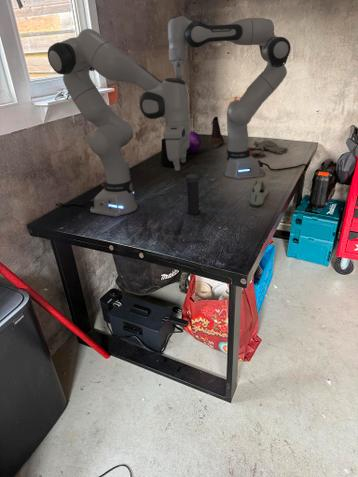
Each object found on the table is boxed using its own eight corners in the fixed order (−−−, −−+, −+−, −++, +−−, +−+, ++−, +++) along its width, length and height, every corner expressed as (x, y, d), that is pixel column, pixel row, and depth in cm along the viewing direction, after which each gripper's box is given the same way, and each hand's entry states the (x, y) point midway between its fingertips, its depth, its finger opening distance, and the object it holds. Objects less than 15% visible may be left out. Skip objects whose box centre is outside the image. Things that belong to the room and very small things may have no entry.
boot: (224, 140, 260) (225, 113, 250) (221, 148, 240) (222, 119, 230) (213, 140, 262) (213, 113, 252) (210, 148, 242) (209, 119, 232)
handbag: (171, 168, 206) (169, 126, 194) (160, 166, 211) (156, 125, 198) (188, 159, 221) (187, 120, 209) (177, 157, 226) (175, 119, 213)
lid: (197, 177, 145) (197, 173, 144) (200, 181, 140) (200, 177, 139) (185, 179, 144) (184, 174, 143) (187, 183, 139) (187, 178, 138)
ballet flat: (269, 188, 169) (270, 173, 165) (265, 208, 149) (266, 191, 145) (252, 187, 171) (253, 172, 167) (246, 206, 151) (247, 190, 147)
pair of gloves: (252, 159, 212) (252, 151, 209) (231, 150, 233) (231, 143, 230) (289, 152, 222) (290, 144, 219) (266, 144, 242) (267, 137, 240)
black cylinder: (197, 209, 152) (196, 174, 143) (200, 214, 148) (199, 178, 139) (187, 210, 151) (185, 175, 143) (189, 215, 147) (188, 179, 139)
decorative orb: (204, 151, 235) (204, 129, 228) (194, 156, 225) (193, 134, 217) (186, 149, 243) (186, 128, 235) (175, 154, 232) (174, 132, 224)
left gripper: (176, 122, 127) (179, 157, 134) (161, 134, 110) (165, 174, 117) (192, 122, 126) (194, 157, 133) (180, 134, 109) (182, 174, 115)
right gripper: (185, 55, 152) (186, 88, 159) (184, 55, 169) (185, 84, 176) (171, 56, 152) (173, 89, 159) (171, 55, 170) (173, 85, 176)
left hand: (180, 165), depth 125 cm, fingers open, 8 cm apart
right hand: (179, 86), depth 168 cm, fingers open, 8 cm apart
